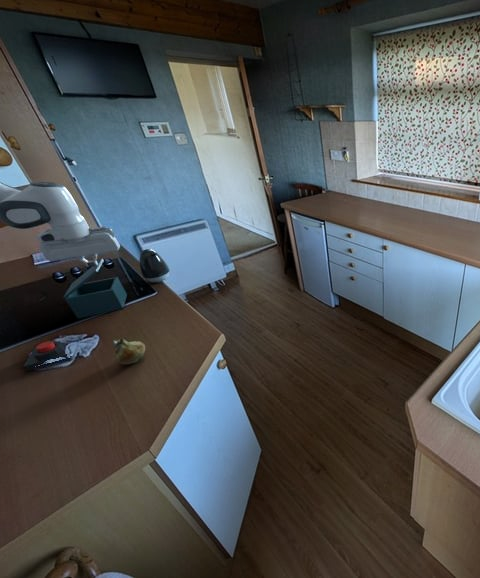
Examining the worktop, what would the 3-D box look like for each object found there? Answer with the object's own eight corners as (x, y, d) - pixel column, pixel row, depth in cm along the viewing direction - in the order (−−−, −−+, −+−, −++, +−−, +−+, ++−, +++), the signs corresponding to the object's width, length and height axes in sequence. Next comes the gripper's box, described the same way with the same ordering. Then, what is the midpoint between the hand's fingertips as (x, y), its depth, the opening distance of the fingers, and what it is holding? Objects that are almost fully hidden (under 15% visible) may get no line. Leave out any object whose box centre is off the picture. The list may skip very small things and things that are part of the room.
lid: (104, 260, 115) (101, 258, 114) (97, 272, 107) (95, 270, 106) (74, 284, 114) (71, 283, 113) (65, 298, 105) (62, 297, 105)
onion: (116, 372, 88) (103, 353, 83) (123, 355, 94) (111, 336, 90) (146, 365, 90) (135, 345, 86) (151, 348, 97) (141, 330, 92)
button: (37, 354, 89) (34, 350, 88) (41, 347, 91) (38, 343, 90) (53, 350, 90) (50, 346, 89) (57, 343, 93) (54, 339, 92)
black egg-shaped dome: (157, 287, 130) (142, 256, 122) (140, 282, 133) (125, 252, 125) (177, 276, 138) (165, 247, 130) (162, 273, 141) (149, 243, 133)
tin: (127, 294, 124) (117, 276, 120) (123, 308, 116) (112, 289, 111) (85, 303, 118) (73, 285, 114) (77, 318, 110) (64, 299, 105)
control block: (27, 371, 88) (18, 362, 85) (37, 355, 93) (29, 346, 91) (71, 359, 92) (64, 350, 90) (78, 344, 98) (71, 335, 96)
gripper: (111, 223, 109) (128, 256, 116) (36, 232, 100) (59, 268, 107) (108, 228, 105) (126, 262, 112) (29, 238, 96) (54, 275, 103)
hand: (93, 265), depth 110 cm, fingers closed
